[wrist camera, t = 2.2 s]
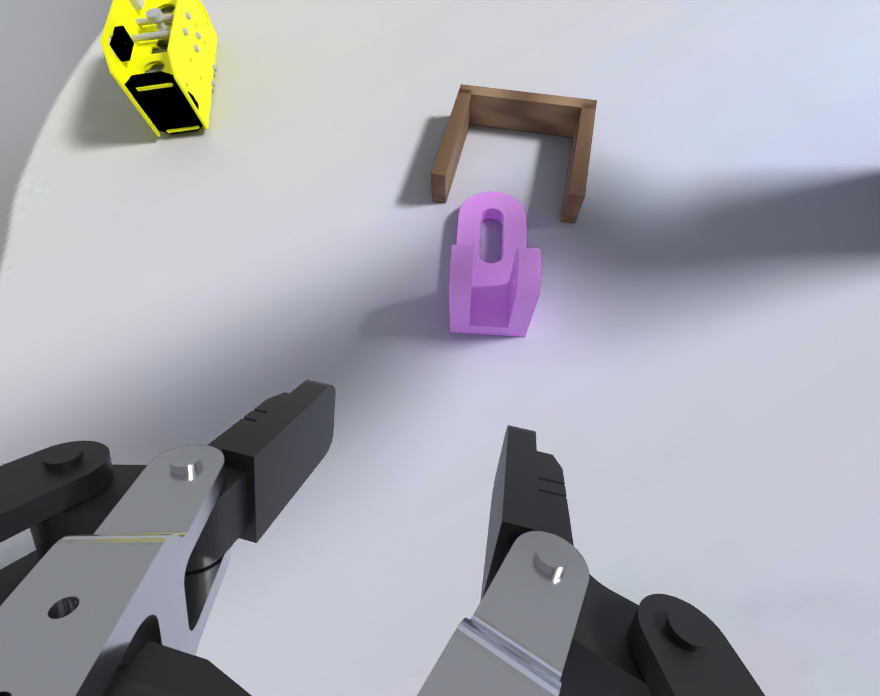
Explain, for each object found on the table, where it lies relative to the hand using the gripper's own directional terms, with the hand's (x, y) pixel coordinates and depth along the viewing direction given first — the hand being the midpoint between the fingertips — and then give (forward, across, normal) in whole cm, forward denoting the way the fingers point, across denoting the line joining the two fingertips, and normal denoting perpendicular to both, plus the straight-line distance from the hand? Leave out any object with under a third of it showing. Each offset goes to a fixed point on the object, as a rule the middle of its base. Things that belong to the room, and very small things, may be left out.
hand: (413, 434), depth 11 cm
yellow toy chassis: (+36, +36, -12) cm, 52 cm away
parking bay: (+32, 0, -9) cm, 34 cm away
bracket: (+24, 0, -1) cm, 24 cm away
